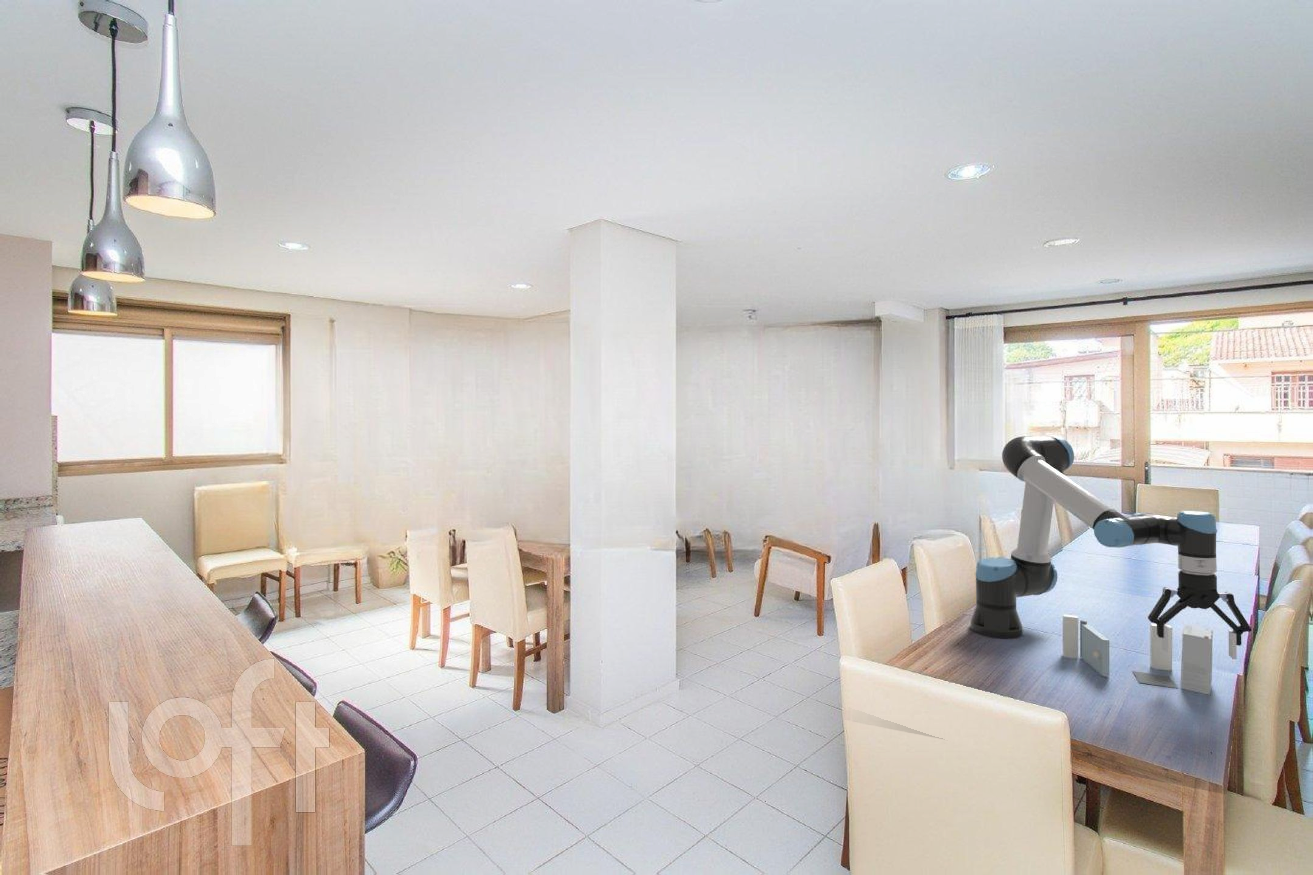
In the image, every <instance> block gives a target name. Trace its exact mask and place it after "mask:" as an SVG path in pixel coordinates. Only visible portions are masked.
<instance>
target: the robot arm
mask: <svg viewBox="0 0 1313 875" xmlns="http://www.w3.org/2000/svg"><path fill="white" fill-rule="evenodd" d="M1001 459H1002V463H1003V465H1004V467H1005V468H1006V469H1007V471H1009V472H1010V473H1011V475H1013V477H1015V478H1016V479H1018V480H1019V481H1021V482H1024V492H1023V500H1022V507H1021V515H1020V522H1019V523H1020V524H1019V531H1018V538H1017V545H1016V546H1017V547H1016V548H1015V549H1014V550H1011V554H1010V558H1009V557H1001V556H1000V557H999V556H998V557H994V556H993V557H987V558H982V559H980V560H978V562H977V563H976V566H975V567H976V570H975V594H976V595H975V597H976V600H975V601H976V602H975V603H976V604H975V605H976V606H975V608H974V611H973V613H972V616H971V618H970V629H971V630H972V631H973V632H975V633H978V634H979V635H983V636H986V637H990V638H991V637H992V638H999V639H1015V638H1020V637H1021V636H1023V631H1024V630H1023V625H1022V621H1021V619H1020V617H1019V613H1018V611H1017V598H1021V597H1028V596H1039V595H1043V594H1046V593H1049V592H1051V591H1052V590H1053V589H1054V588H1055V586H1056V585H1057V582H1058V571H1057V570H1056V569H1055V568H1056V567H1055V565H1054V564H1053V562H1052V557H1051V556H1050V555H1049V554H1048V547H1049V542H1050V541H1049V539H1050V533H1051V524H1052V518H1053V510H1054V504H1055V503H1057V504H1058V506H1061V507H1062V508H1063V509H1065V510H1066V511H1068V512H1069V513H1070V514H1072V515H1073V516H1075V517H1076V518H1077V519H1079V520H1080V522H1081V521H1082V523H1084V524H1086V525H1087V526H1088V527H1090V528H1091V529H1092V530H1093V533H1094V537H1095V538H1096V541H1097V542H1098V543H1099V544H1101V545H1102V546H1104V547H1107V548H1117V549H1118V548H1119V549H1120V548H1126V547H1132V546H1133V547H1134V546H1138V545H1139V546H1141V545H1150V544H1162V545H1168V546H1169V545H1170V546H1175V547H1177V551H1178V552H1177V560H1178V561H1177V568H1178V569H1179V571H1178V572H1177V573H1178V574H1177V575H1178V577H1177V579H1178V586H1177V589H1172V588H1169V587H1166V586H1164V587H1163V588H1162V595H1161V596H1160V598H1159V599H1158V601H1157V602H1156V604H1155V605H1154V607H1153V608H1152V610H1151V612H1150V613H1149V615H1148V616H1147V619H1148V620H1149V622H1150V623H1151V624H1157V635H1158V637H1160V638H1162V649H1163V650H1164V651H1165V652H1168V627H1167V626H1166V625H1167V623H1169V621H1172V619H1174V617H1175V616H1177V615H1178V614H1179V613H1180V612H1181V611H1183V610H1185V609H1186V608H1187V607H1189V608H1190V609H1201V610H1207V609H1210V608H1211V610H1213V611H1214V613H1216V614H1217V615H1218V617H1220V619H1222V620H1223V621H1224V622H1225V623H1226V624H1227V625H1228V626H1229V627H1230V628H1231V629H1232V630H1230V629H1228V656H1229V657H1230V658H1231V659H1233V660H1237V659H1238V658H1237V646H1242V635H1243V634H1244V633H1246V632H1248V633H1250V632H1251V631H1253V630H1252V627H1251V626H1250V624H1249V623H1248V621H1247V620H1246V618H1245V617H1244V615H1243V613H1242V612H1241V610H1240V608H1239V607H1238V605H1237V604H1236V602H1235V597H1234V594H1233V593H1231V592H1229V591H1225V592H1218V585H1217V584H1218V581H1217V579H1218V576H1217V575H1216V574H1215V573H1217V571H1218V570H1217V566H1218V565H1217V533H1218V529H1217V524H1216V517H1215V515H1214V514H1213V513H1211V512H1207V511H1197V510H1181V511H1179V512H1178V513H1177V516H1175V517H1174V516H1167V515H1166V516H1165V515H1160V514H1159V515H1158V514H1152V513H1147V512H1145V513H1142V512H1135V513H1133V514H1132V515H1131V516H1128V517H1127V516H1124V515H1123V514H1122V513H1120V512H1118V511H1117V510H1116V509H1114V508H1112V507H1111V506H1109V505H1108V504H1107V503H1106V502H1103V501H1102V500H1101V499H1099V498H1098V497H1096V496H1095V495H1093V494H1092V493H1091V492H1089V491H1088V490H1086V489H1085V488H1083V487H1082V486H1081V485H1079V484H1077V483H1076V482H1074V481H1073V480H1072V479H1071V478H1069V477H1067V476H1066V475H1064V471H1067V470H1068V469H1069V468H1071V466H1072V465H1073V463H1074V461H1075V452H1074V449H1073V447H1072V445H1071V444H1070V443H1069V441H1068V440H1066V439H1065V438H1063V437H1061V436H1058V435H1051V434H1049V435H1047V434H1044V435H1029V436H1025V435H1024V436H1023V435H1022V436H1018V437H1015V438H1013V439H1011V440H1009V441H1008V442H1007V443H1006V444H1005V446H1004V447H1003V450H1002V452H1001ZM1054 502H1055V503H1054ZM1176 595H1177V597H1178V600H1177V601H1176V602H1175V604H1173V605H1172V606H1171V607H1169V608H1168V609H1167V610H1166V611H1165V612H1164V613H1163V611H1164V609H1165V607H1167V605H1168V603H1169V602H1170V600H1171V598H1174V596H1176ZM1219 599H1221V600H1222V601H1223V602H1225V603H1226V605H1227V607H1229V609H1230V611H1231V613H1232V614H1233V615H1234V617H1235V618H1236V620H1237V622H1238V623H1239V625H1237V624H1236V623H1235V622H1234V621H1233V620H1232V619H1231V618H1230V617H1229V616H1228V615H1227V614H1226V613H1225V612H1224V611H1223V610H1222V609H1221V608H1220V607H1219V606H1218V605H1216V602H1217V601H1218V600H1219ZM1162 613H1163V614H1162ZM1161 614H1162V615H1161Z"/></svg>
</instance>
